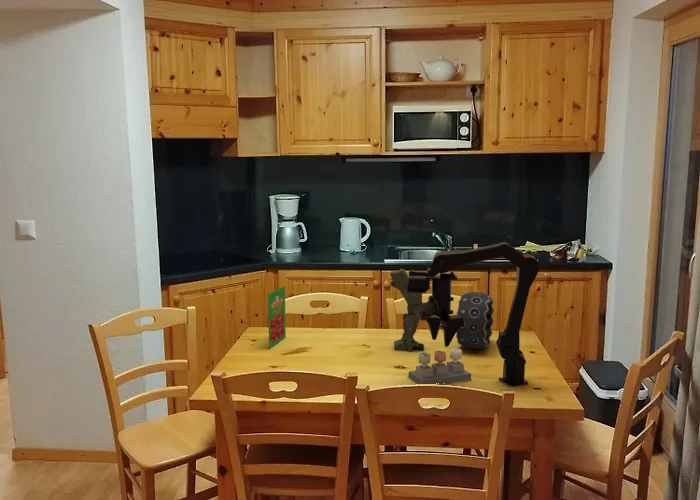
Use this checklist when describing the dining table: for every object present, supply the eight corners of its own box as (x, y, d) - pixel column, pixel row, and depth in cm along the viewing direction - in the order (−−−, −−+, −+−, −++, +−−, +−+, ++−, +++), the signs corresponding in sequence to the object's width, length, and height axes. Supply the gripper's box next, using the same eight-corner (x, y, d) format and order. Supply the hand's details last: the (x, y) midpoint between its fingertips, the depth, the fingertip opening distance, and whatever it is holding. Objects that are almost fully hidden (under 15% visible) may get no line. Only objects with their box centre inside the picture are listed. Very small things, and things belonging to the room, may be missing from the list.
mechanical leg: (434, 343, 234) (415, 263, 230) (434, 350, 227) (415, 267, 223) (396, 351, 236) (377, 272, 232) (396, 357, 229) (376, 276, 225)
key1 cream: (463, 366, 202) (463, 350, 201) (453, 367, 201) (453, 352, 200) (457, 362, 205) (457, 347, 204) (447, 364, 204) (447, 349, 203)
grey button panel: (471, 379, 201) (471, 365, 200) (422, 387, 194) (422, 373, 193) (455, 370, 209) (456, 357, 208) (408, 377, 202) (408, 363, 202)
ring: (453, 354, 225) (455, 297, 222) (464, 338, 244) (465, 286, 241) (485, 357, 222) (487, 300, 218) (493, 341, 240) (495, 288, 237)
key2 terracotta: (448, 368, 200) (448, 353, 199) (437, 370, 199) (438, 354, 198) (442, 365, 203) (442, 349, 202) (431, 366, 202) (432, 351, 201)
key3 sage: (432, 371, 198) (432, 355, 197) (421, 372, 196) (422, 356, 196) (426, 367, 201) (426, 351, 200) (416, 368, 200) (416, 353, 199)
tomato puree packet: (270, 349, 230) (269, 294, 226) (267, 349, 230) (266, 294, 227) (286, 337, 244) (286, 285, 241) (284, 337, 244) (283, 285, 241)
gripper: (403, 289, 203) (403, 337, 205) (433, 302, 186) (432, 355, 188) (435, 286, 207) (434, 333, 209) (466, 299, 190) (465, 350, 192)
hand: (440, 343), depth 200 cm, fingers open, 7 cm apart
